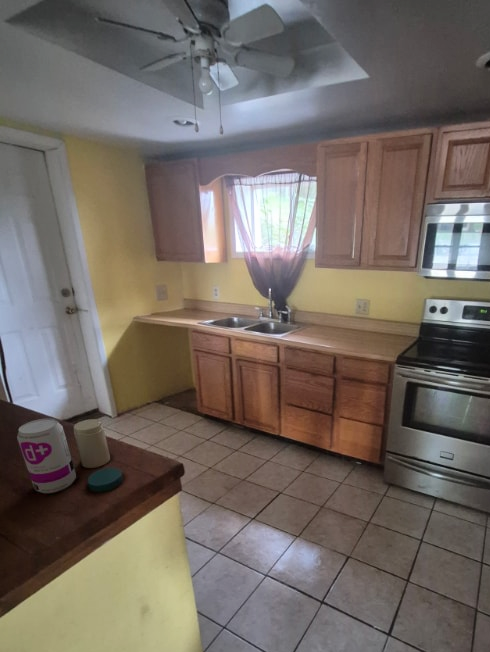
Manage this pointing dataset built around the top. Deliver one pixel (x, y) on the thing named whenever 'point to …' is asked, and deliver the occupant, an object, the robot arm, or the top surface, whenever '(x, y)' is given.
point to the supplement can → (46, 455)
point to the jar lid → (105, 479)
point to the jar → (91, 443)
